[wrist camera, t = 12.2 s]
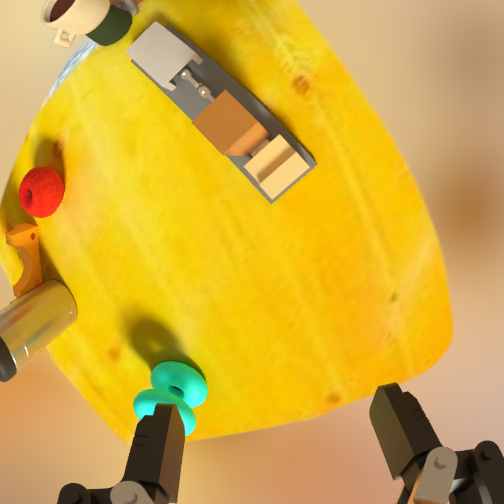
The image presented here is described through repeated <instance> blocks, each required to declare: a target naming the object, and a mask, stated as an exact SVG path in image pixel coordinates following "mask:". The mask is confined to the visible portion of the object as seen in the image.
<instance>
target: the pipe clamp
mask: <svg viewBox="0 0 504 504" xmlns="http://www.w3.org/2000/svg"><path fill="white" fill-rule="evenodd" d="M13 228H14V230H12V231H9V232H6V244H8V245H11V246H13V247H15V246H16V247H17V250H18V252H19V259H22V260H24V270H23V273H22V276H21V278H20V279H19V281H18V282H17V283H16V284H15V285H14V286H13V291H14V296H16V297H17V298H18V297H19V296H21V295H22V294H24V293H26V292H27V291H29V290H31V289H32V288H34V287H35V286H37V285H39V284H40V283H42V282H43V280H42V272H41V263H40V253H39V239H38V226H36V225H32V224H29V223H25V222H24V223H21V224H19V225H16V226H13Z"/></svg>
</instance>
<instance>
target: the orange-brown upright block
mask: <svg viewBox="0 0 504 504" xmlns="http://www.w3.org/2000/svg"><path fill="white" fill-rule="evenodd" d="M177 74H178V75H179V76H180V77H181V78H183V79H184V80H189V81H190V82H191V83H192V84H193V85H194V86H195V90H196V91H197V92H198V93H199V94H200V95H201V96H202V97H203V98H205V99H209V100H210V101H211V102H212V103H210V104H209V105H208V106H207V107H206V108H205V109H204V110H203V111H202V112H201V113H200V114H199V115H198V116H197V117H196V118H195V119H194V120H193V121H192V122H191V123H192V124H193V125H194V126H195V127H196V128H197V129H198V130H199V131H200V132H201V133H202V134H203V135H204V136H205V137H206V138H207V139H208V140H209V141H210V142H211V143H212V144H213V145H214V146H215V147H216V148H217V149H218V151H219V152H220V153H221V154H222V155H232V156H244V157H249V156H250V155H252V156H253V157H255V156H256V155H257V154H258V153H259V152H260V151H261V150H262V149H263V148H265V147H266V146H267V145H268V144H269V143H270V141H269V140H268V139H269V138H270V137H271V135H270V134H269V133H268V132H267V131H266V130H265V129H264V127H263V126H262V125H261V124H260V123H259V122H258V121H257V120H256V119H255V118H254V117H253V116H252V115H251V114H250V113H249V112H248V111H247V110H246V109H245V108H244V107H243V106H242V105H241V104H240V103H239V102H238V101H237V100H236V99H235V98H234V97H233V96H232V95H231V94H230V93H228V92H227V91H226V90H224V91H223V92H222V93H221V94H220V95H219V96H218V97H217V98H216V99H215V98H214V97H213V96H212V92H211V90H210V89H208V88H207V87H206V86H205V85H204V84H203V83H198V82H197V81H196V80H195V79H194V78H192V73H191V72H190V71H189V70H188V69H186V68H185V67H183V68H182V69H181V70H180V71H179V72H178V73H177Z"/></svg>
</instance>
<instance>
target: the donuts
mask: <svg viewBox="0 0 504 504" xmlns="http://www.w3.org/2000/svg"><path fill="white" fill-rule="evenodd" d="M151 384H152V387H153V389H148V390H144V391H142V392H140V393H139V394H138V395H137V396H136V397H135V399H134V403H133V406H134V411H135V413H136V415H137V417H138V418H139V420H141V419H142V418H143V416H144V415H153V412H154V408H155V405H156V404H157V403H168V404H176V405H177V407H178V410H179V413H180V415H181V418H182V420H183V423H184V426H185V436H187V435H189V434H190V433H191V432H192V431H193V430H194V428H195V426H196V418H195V415H194V413H193V411H192V409H191V408H193V407H196V406H199V405H200V404H202V403H203V402H204V400H205V399H206V397H207V394H208V388H207V384H206V382H205V380H204V378H203V377H202V376H201V375H200V374H199V373H198V372H197V371H196V370H195V369H193V368H192V367H190V366H188V365H186V364H184V363H180V362H176V361H166V362H162V363H160V364H158V365H157V366H156V367H155V368H154V369H153V371H152V373H151ZM173 386H175V387H178V388H179V389H181V390H182V391H180V390H177V389H176V388H174V387H173Z"/></svg>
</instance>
